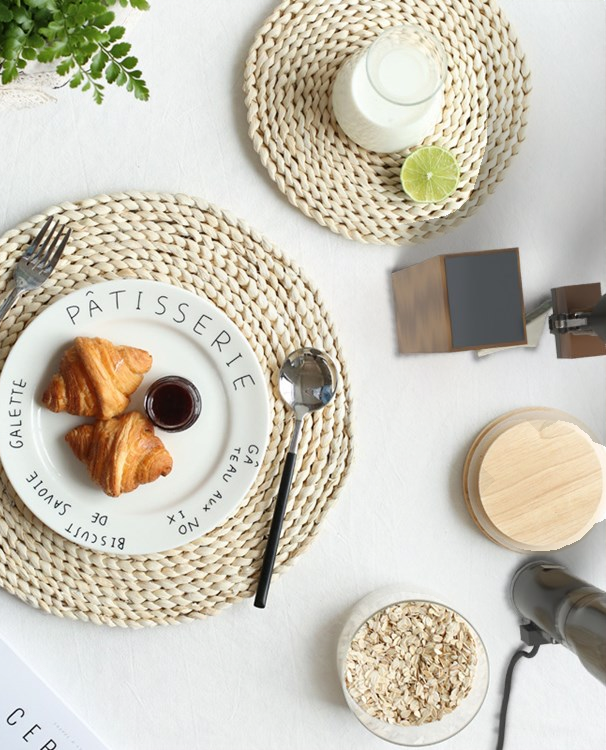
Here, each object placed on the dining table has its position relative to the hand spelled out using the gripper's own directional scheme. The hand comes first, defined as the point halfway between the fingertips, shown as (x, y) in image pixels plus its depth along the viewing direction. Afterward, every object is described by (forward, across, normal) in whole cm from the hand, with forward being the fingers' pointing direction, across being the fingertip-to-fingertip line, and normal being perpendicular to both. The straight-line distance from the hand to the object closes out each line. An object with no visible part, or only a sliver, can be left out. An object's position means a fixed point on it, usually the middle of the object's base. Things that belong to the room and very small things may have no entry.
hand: (572, 321), depth 117 cm
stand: (+8, -18, +4) cm, 20 cm away
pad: (-14, -18, +4) cm, 23 cm away
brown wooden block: (0, 0, 0) cm, 0 cm away
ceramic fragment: (+8, -5, 0) cm, 10 cm away
